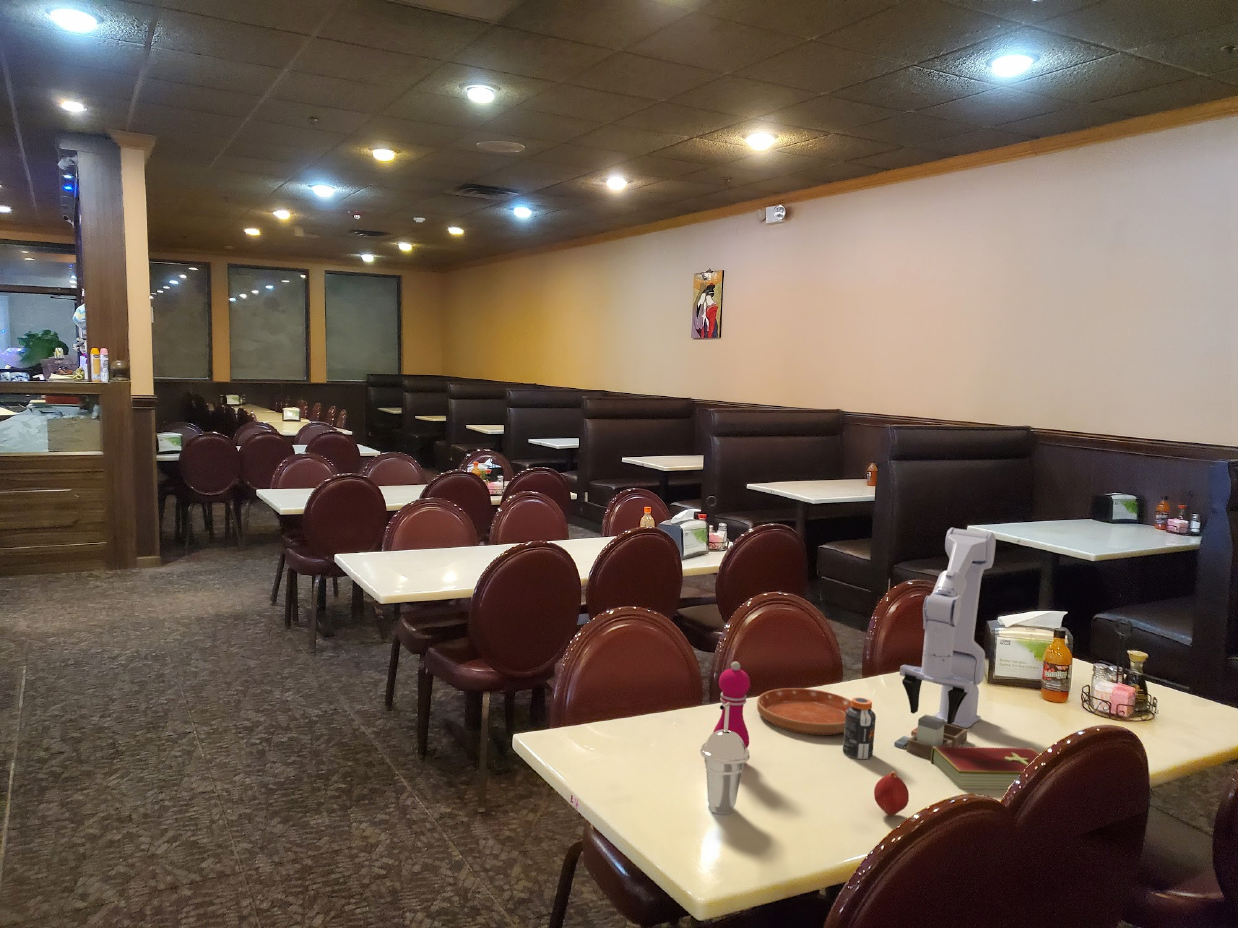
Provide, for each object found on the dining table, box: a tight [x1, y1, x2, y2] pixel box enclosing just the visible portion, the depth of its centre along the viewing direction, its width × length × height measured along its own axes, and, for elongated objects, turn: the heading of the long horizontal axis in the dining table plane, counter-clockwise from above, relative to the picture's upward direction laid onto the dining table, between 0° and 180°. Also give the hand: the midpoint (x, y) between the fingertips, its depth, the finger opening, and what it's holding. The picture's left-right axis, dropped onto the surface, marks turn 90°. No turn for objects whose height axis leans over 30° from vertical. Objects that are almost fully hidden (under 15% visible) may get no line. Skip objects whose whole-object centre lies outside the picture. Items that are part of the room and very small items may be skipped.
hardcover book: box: [930, 746, 1040, 790], centre depth 176 cm, size 12×21×4 cm, turn 95°
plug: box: [917, 714, 946, 747], centre depth 186 cm, size 4×4×7 cm
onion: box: [873, 771, 910, 817], centre depth 156 cm, size 6×6×8 cm
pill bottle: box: [842, 696, 877, 760], centre depth 182 cm, size 6×6×11 cm
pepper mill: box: [712, 661, 751, 765], centre depth 175 cm, size 7×7×20 cm
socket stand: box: [893, 722, 968, 760], centre depth 190 cm, size 16×10×2 cm, turn 140°
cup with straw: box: [699, 701, 751, 815], centre depth 155 cm, size 8×9×20 cm
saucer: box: [756, 687, 852, 736], centre depth 201 cm, size 23×23×4 cm
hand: (932, 717), depth 185 cm, fingers open, 7 cm apart
